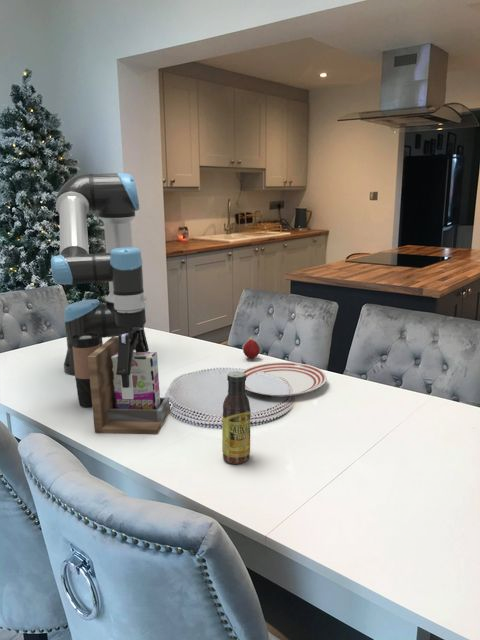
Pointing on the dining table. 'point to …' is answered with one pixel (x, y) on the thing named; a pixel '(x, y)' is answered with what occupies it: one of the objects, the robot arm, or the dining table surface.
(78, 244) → the robot arm
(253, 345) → the red rounded piece
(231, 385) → the sauce bottle
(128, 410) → the brown wooden l-shaped stand
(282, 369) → the dinner plate
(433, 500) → the dining table surface
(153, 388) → the candy bar box
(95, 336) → the travel mug
